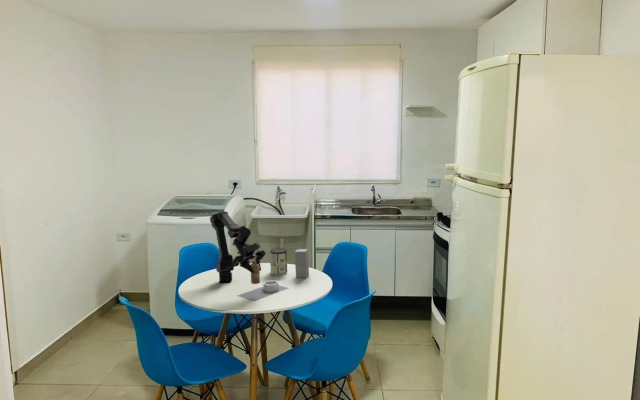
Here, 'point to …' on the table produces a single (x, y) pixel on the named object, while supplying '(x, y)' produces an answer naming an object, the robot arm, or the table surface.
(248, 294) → the tool board
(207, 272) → the table surface
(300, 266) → the skincare box
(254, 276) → the brown tall cylinder
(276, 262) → the coffee can
